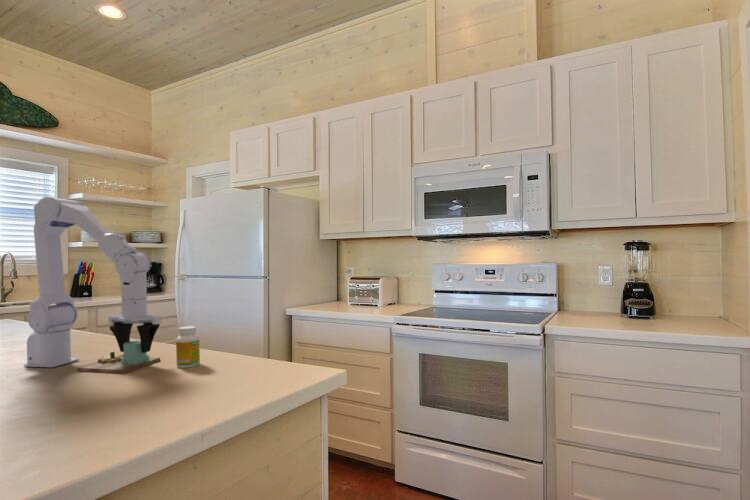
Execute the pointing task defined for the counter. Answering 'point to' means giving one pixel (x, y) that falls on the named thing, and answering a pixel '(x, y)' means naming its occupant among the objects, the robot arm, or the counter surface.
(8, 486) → the counter surface
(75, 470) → the counter surface
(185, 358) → the supplement bottle
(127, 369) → the gear board
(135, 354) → the gear
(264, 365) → the counter surface
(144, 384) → the counter surface
